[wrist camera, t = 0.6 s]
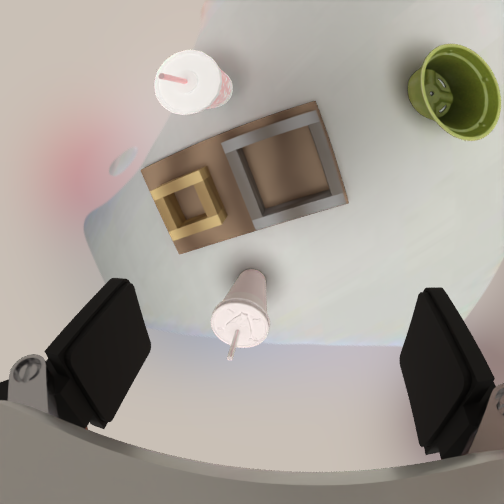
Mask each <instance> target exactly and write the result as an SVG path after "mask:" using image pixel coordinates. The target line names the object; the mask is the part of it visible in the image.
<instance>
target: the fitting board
mask: <svg viewBox="0 0 504 504" xmlns="http://www.w3.org/2000/svg"><path fill="white" fill-rule="evenodd" d="M141 172H142V175H143V177H144V179H145V182H146V184H147V186H148V188H149V191H150V193H151V195H152V197H153V200H154V202H155V204H156V206H157V208H158V211H159V213H160V215H161V217H162V219H163V221H164V224H165V226H166V228H167V230H168V232H169V234H170V236H171V238H172V240H173V242H174V244H175V247H176V249H177V251H178V253H179V255H180V254H183V253H186V252H189V251H192V250H195V249H199V248H202V247H205V246H208V245H211V244H215V243H218V242H221V241H224V240H227V239H231V238H234V237H237V236H240V235H244V234H247V233H250V232H254V231H257V230H260V229H263V228H267V227H270V226H273V225H277V224H280V223H283V222H287V221H290V220H293V219H297V218H300V217H303V216H307V215H310V214H314V213H317V212H320V211H324V210H327V209H331V208H334V207H338V206H341V205H344V204H348V203H349V202H348V198H347V195H346V191H345V188H344V184H343V181H342V178H341V174H340V171H339V168H338V165H337V161H336V158H335V155H334V152H333V149H332V146H331V143H330V140H329V137H328V134H327V131H326V128H325V125H324V123H323V120H322V117H321V114H320V112H319V109H318V106H317V103H316V101H313V102H310V103H306V104H303V105H300V106H297V107H293V108H290V109H287V110H284V111H281V112H278V113H275V114H272V115H269V116H267V117H264V118H261V119H258V120H255V121H253V122H250V123H247V124H245V125H242V126H239V127H237V128H234V129H232V130H229V131H226V132H224V133H221V134H219V135H217V136H214V137H212V138H209V139H207V140H205V141H202V142H200V143H198V144H195V145H193V146H191V147H188V148H186V149H184V150H182V151H179V152H177V153H175V154H173V155H171V156H169V157H166V158H164V159H162V160H160V161H158V162H156V163H154V164H152V165H150V166H148V167H146V168H144V169H142V170H141Z"/></svg>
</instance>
